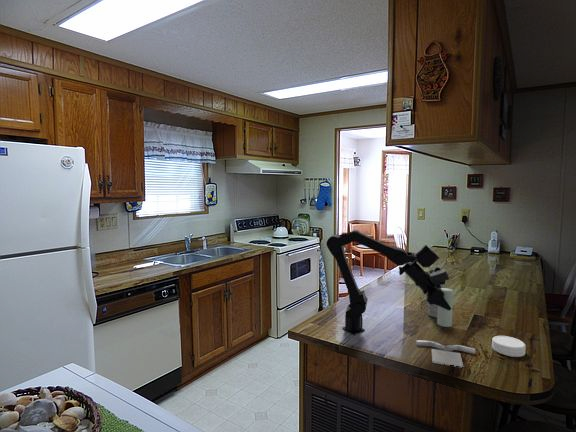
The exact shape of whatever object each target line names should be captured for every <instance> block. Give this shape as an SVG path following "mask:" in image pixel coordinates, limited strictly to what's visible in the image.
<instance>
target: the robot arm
mask: <svg viewBox="0 0 576 432" xmlns="http://www.w3.org/2000/svg"><path fill="white" fill-rule="evenodd" d="M354 242H356V243H358V244H360V245H362V246H364V247H367V248H368V249H371V250H372V251H375V252H377V253H379V254H381V255H383V256H384V257H386V259H388V261H390V262H392V263H393V264H395V265H396V266H398V270H399V271H398V272H399V273H398V274H399V276H402V275H403V274H404V273H405V275H406V276H408V278H410V279H411V281H412V282H414V284H415V286H416V287H418V288H419V289H420V290H421V291H422V293H423V294H424V295H425V300H426V301H427V304H428V303H429V304H430V305H432V304H435V305H438V306H440V307H442V308H444V309H447V310H451V307H450V306H449V304H448V303H447V301H446V300H445V298H444V295H445V293H444V291H443V290H442V289H441V285H440V284H437V283H439V282H442V281H445V282H446V281H449V280H450V277H449V274H448V273H447V270H446V269H445V268H440V267H439V266H436V267H434V268H433V270H434V272H433V273H431V274H430V272H429V271H425V269H423V268H430V267H431V266H433V265H434V264H435V263H436V262H437V261H438V260H439V259H441V257H440V256H439V255H438V254H437V253H436V252H435V251H434V250H433V249H431V248H430V246H428V244H425V245H423V246H422V248H420V249H419V251H417V252H416V253H415V252H410V251H407V250H405V248H403V247H398V246H394V245H390V244H386V243H384V242H382V241H379V240H378V239H376V238H373V237H371V236H368V235H367V234H365V233H362V232H361V231H359V229H358V230H357V229H354V230H352V231H350V232H345V233H342V234H333V235H331V236H330V237H329V238H328V239H327V240H326V248H327V249H328V251H329V252H330V254H331V256H333V258H334V260H335V261H336V263H337V266H338V268H339V271H340V274H341V277H342V279H343V281H344V284H345V287H346V289H347V292H348V297H349V304H348V305H347V307H346V309H345V315H344V317H345V318H344V319H345V320H344V326H342V330H344V331H346V332H348V333H350V334H352V335H355V334H358V333H361V332H362V333H363V332H364V331H365V328H363V323H364V322H363V319H364V318H363V314H364V313H365V311H366V310H367V305H368V304H367V303H368V297H367V296H366V292H365V290H364V289H363V290H361V289H360V288H359V287H358V283H357V282H356V278H355V277H354V274H353V271H352V269H351V266H350V264H349V261H348V259H347V256H346V249H345V246H346V245H349V244H351V243H354Z"/></svg>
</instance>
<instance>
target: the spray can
mask: <svg viewBox="0 0 576 432" xmlns="http://www.w3.org/2000/svg"><path fill="white" fill-rule="evenodd" d="M433 272H434V269H432V270H429V274H431V273H433ZM437 284H440V285H441V288H446V280H445V281H442V282H439V283H437ZM437 314H438V305H435V304H432V305H430V304H429V303H428V302H427V315H428V316H429V317H431V318H435V319H436V318H437Z"/></svg>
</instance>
